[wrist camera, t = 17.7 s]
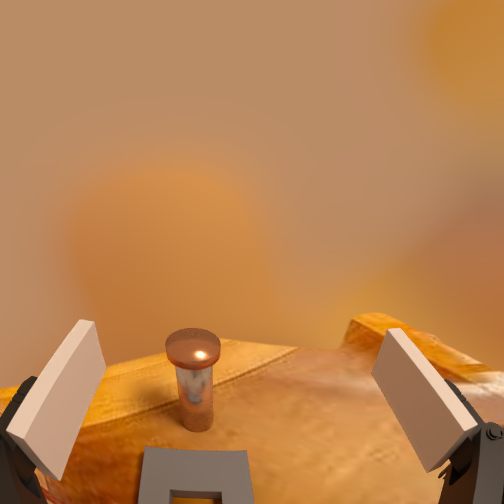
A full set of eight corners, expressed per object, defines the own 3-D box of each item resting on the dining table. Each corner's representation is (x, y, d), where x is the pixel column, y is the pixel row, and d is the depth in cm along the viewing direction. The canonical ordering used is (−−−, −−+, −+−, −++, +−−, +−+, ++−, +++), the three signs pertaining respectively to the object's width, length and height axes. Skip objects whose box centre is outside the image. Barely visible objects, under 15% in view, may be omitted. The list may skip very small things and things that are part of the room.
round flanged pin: (218, 405, 43) (220, 328, 38) (220, 437, 37) (221, 361, 31) (177, 404, 42) (169, 326, 37) (174, 435, 36) (161, 359, 30)
